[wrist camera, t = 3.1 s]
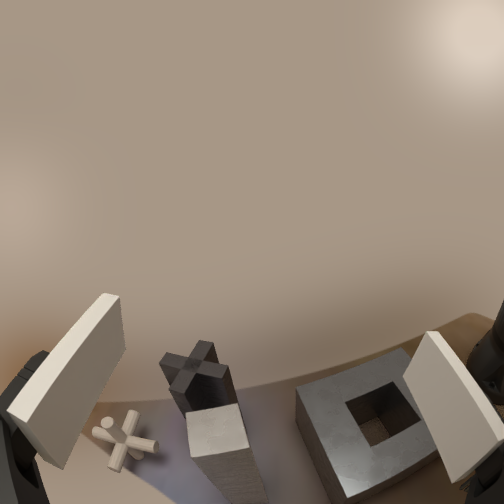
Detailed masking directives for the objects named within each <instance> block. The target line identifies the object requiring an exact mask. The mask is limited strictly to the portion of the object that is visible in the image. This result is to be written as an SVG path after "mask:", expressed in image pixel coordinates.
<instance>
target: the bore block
mask: <svg viewBox="0 0 504 504" xmlns="http://www.w3.org/2000/svg"><path fill="white" fill-rule="evenodd" d="M411 360H412V359H411V358H410V357H409V356H408V354H407V353H406V352H405V351H404V350H403V349H402V348H399V349H396V350H394V351H392V352H390V353H387V354H385V355H383V356H381V357H378V358H376V359H373V360H371V361H369V362H366V363H364V364H361V365H359V366H356V367H353V368H351V369H348V370H346V371H343V372H340V373H337V374H335V375H332V376H329V377H326V378H323V379H320V380H317V381H314V382H311V383H308V384H305V385H301V386H298V387H296V423H297V425H298V428H299V430H300V433H301V435H302V437H303V440H304V442H305V444H306V447H307V449H308V451H309V454H310V456H311V458H312V461H313V463H314V465H315V468H316V470H317V472H318V474H319V477H320V479H321V481H322V483H323V486H324V488H325V490H326V492H327V495H328V497H329V499H330V501H331V504H355V503H357V502H360V501H362V500H364V499H366V498H368V497H370V496H373V495H375V494H377V493H379V492H381V491H383V490H385V489H386V488H388V487H390V486H392V485H394V484H396V483H397V482H399V481H401V480H403V479H404V478H406V477H408V476H410V475H411V474H413V473H415V472H416V471H418V470H419V469H421V468H422V467H424V466H426V465H427V464H429V463H430V462H432V461H433V460H434V459H436V458H437V457H439V456H440V453H439V451H438V449H437V446H436V444H435V442H434V440H433V437H432V435H431V433H430V431H429V429H428V427H427V424H426V422H425V420H424V418H423V416H422V414H421V412H420V410H419V408H418V406H417V404H416V402H415V400H414V398H413V396H412V394H411V392H410V390H409V388H408V386H407V384H406V382H405V380H404V378H403V375H404V373H405V371H406V369H407V368H408V366H409V364H410V362H411ZM377 416H378V417H379V418H380V420H381V421H382V423H383V425H384V426H385V428H386V429H387V431H388V432H389V434H390V436H391V438H389V439H387V440H385V441H383V442H381V443H379V444H377V445H375V446H373V447H370V446H369V444H368V442H367V441H366V439H365V437H364V435H363V434H362V432H361V430H360V428H359V427H358V425H360V424H362V423H364V422H367V421H369V420H371V419H373V418H375V417H377Z"/></svg>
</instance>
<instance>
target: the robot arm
mask: <svg viewBox="0 0 504 504" xmlns="http://www.w3.org/2000/svg"><path fill="white" fill-rule="evenodd" d="M125 350H126V347H125V340H124V333H123V324H122V318H121V307H120V297H119V296H115V295H111V294H106V293H103V294H102V295H101V296H100V297H99V298H98V299H97V300H96V301H95V302H94V303H93V305H92V306H91V307H90V308H89V309H88V310H87V311H86V312H85V313H84V314H83V316H82V317H81V318H80V319H79V320H78V321H77V322H76V323H75V325H74V326H73V327H72V328H71V329H70V330H69V331H68V333H67V334H66V335H65V336H64V337H63V338H62V340H61V341H60V342H59V343H58V344H57V346H56V347H55V348H54V349H53V351H52V352H51V353H49V352H46V351H44V350H43V351H41V352H39V353H38V354H36V355H34V356H33V357H31V358H30V360H29V361H28V362H27V363H26V364H25V365H24V368H23V369H21V370H20V372H19V373H18V374H17V376H16V377H15V378H14V379H13V380H12V382H11V383H10V384H9V385H8V387H7V388H6V389H5V390H4V392H3V393H2V395H1V396H0V504H50V503H49V500H48V497H47V495H46V492H45V489H44V486H43V482H42V479H41V476H40V473H39V469H38V466H37V463H36V460H35V458H34V457H35V455H36V453H38V454H39V455H40V456H41V457H42V458H43V460H44V461H46V462H48V463H50V464H52V465H54V466H56V467H58V468H60V469H62V470H63V469H64V466H65V464H66V462H67V460H68V458H69V456H70V454H71V452H72V449H73V447H74V445H75V443H76V441H77V439H78V437H79V435H80V433H81V431H82V429H83V427H84V425H85V423H86V421H87V419H88V417H89V415H90V413H91V411H92V410H93V408H94V406H95V404H96V402H97V400H98V398H99V396H100V394H101V393H102V391H103V389H104V387H105V385H106V383H107V382H108V380H109V378H110V376H111V374H112V373H113V371H114V369H115V367H116V366H117V364H118V362H119V360H120V358H121V357H122V355H123V353H124V351H125ZM403 378H404V380H405V382H406V384H407V386H408V388H409V390H410V392H411V394H412V396H413V398H414V400H415V402H416V404H417V406H418V408H419V410H420V412H421V414H422V416H423V418H424V420H425V422H426V424H427V427H428V429H429V431H430V433H431V435H432V437H433V440H434V442H435V444H436V446H437V449H438V451H439V453H440V456H441V458H442V460H443V463H444V465H445V468H446V470H447V472H448V475H449V477H450V480H451V483H454V482H457V481H459V480H461V479H464V478H465V477H467V476H468V475H469V474H470V473H471V472H472V471H474V470H475V471H476V474H475V475H473V476H472V477H471V478H470V479H469V480H467V481H466V482H465V483H464V484H463V485H461V487H460V489H459V490H462V489H463V488H465V487H466V486H467V485H468V484H470V485H469V486H468V487H467V488H466V489H465V490H464V491H466V492H468V494H467V497H466V501H465V504H504V420H503V418H502V416H501V415H500V413H499V412H497V409H496V407H495V405H493V403H494V404H499V405H504V301H503V303H502V306H501V308H500V310H499V313H498V315H497V317H496V320H495V322H494V325H493V327H492V328H491V329H490V330H489V331H488V332H487V334H486V335H485V336H484V337H483V338H482V339H481V340H480V341H479V342H478V343H477V344H476V345H475V347H474V348H473V350H472V352H471V354H470V356H469V358H468V361H467V369H466V367H465V366H464V365H463V363H462V362H461V361H460V359H459V358H458V357H457V355H456V354H455V353H454V351H453V350H452V349H451V348H450V346H449V345H448V344H447V342H446V341H445V340H444V339H443V337H442V336H441V335H440V334H439V332H434V331H426V333H425V335H424V337H423V339H422V341H421V343H420V345H419V347H418V349H417V351H416V353H415V355H414V357H413V358H412V360H411V362H410V364H409V366H408V368H407V369H406V371H405V373H404V375H403Z"/></svg>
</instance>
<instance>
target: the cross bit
mask: <svg viewBox="0 0 504 504" xmlns="http://www.w3.org/2000/svg"><path fill="white" fill-rule="evenodd" d="M159 364H160V366H161V368H162V371H163V373H164V375H165V376H166V379H167V381H168V383H169V385H170V388H169V391H170V393H171V394H172V396H173V398H174V400H175V402H176V404H177V405H178V407H179V409H180V411H181V412H182V414H183V416H184V418H185V419H186V413H187V412H194V411H200V410H206V409H211V408H217V407H222V406H227V405H231V404H236V403H238V400H237V396H236V393H235V389H234V386H233V382H232V378H231V374H230V370H229V367H228V365H223V364H219V361H218V358H217V354H216V351H215V347H214V343H213V342H207V341H201V340H199V341H198V343H197V344H196V346H195V348H194V349H193V351H192V352H191V354H190V356H189V357H184V356H180V355H175V354H171V353H166V354H165V355H164V357H163V358H162V360H161V361H160V362H159ZM238 406H239V403H238ZM239 410H240V407H239ZM240 413H241V410H240ZM241 416H242V414H241ZM242 420H243V417H242ZM243 423H244V421H243ZM244 427H245V424H244ZM245 430H246V427H245ZM246 433H247V431H246Z"/></svg>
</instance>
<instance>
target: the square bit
mask: <svg viewBox="0 0 504 504" xmlns="http://www.w3.org/2000/svg"><path fill="white" fill-rule="evenodd" d="M186 421H187V430H188V439H189V446H190V454H191V458H192V459H193V461H194V462H195V463H196V464H197V466H198V467H199V468H200V469H201V470H202V472H203V473H204V474H205V475H206V476H207V477H208V479H209V480H210V481H211V482H212V483H213V484H214V485H215V486H216V488H217V489H218V490H219V491H220V492H221V493H222V494H223V495H224V496H225V497H226V498H227V499H228V500H229V501H230V502H231V503H232V504H264V503H269V502H268V499H267V496H266V493H265V489H264V486H263V483H262V480H261V477H260V474H259V471H258V468H257V465H256V462H255V459H254V455H253V452H252V449H251V446H250V443H249V440H248V436H247V433H246V430H245V427H244V423H243V420H242V416H241V413H240V410H239V406H238V403H236V404H231V405H227V406H222V407H217V408H211V409H206V410H200V411H194V412H187V413H186Z"/></svg>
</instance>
